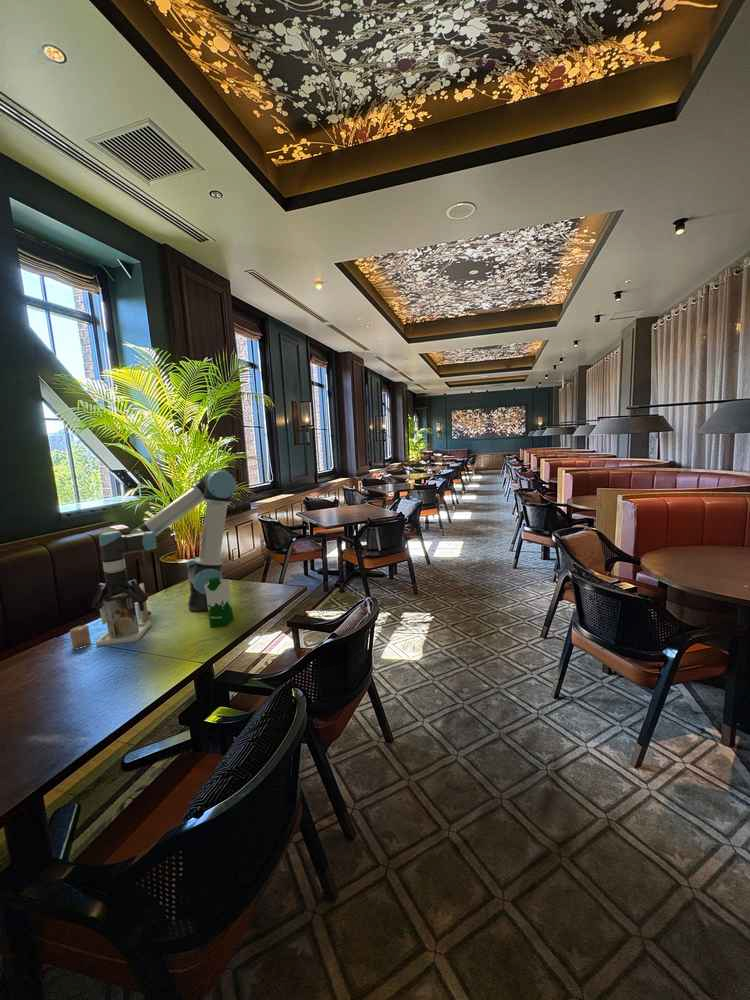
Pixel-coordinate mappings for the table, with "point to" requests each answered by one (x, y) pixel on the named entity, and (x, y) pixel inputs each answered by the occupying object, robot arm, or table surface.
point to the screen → (145, 611)
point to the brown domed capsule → (80, 636)
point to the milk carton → (219, 602)
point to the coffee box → (120, 615)
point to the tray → (129, 638)
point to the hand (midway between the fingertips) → (123, 620)
